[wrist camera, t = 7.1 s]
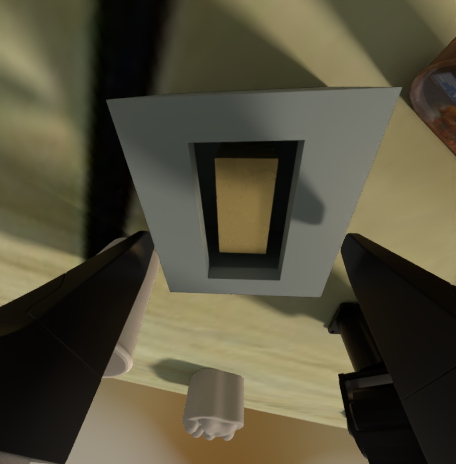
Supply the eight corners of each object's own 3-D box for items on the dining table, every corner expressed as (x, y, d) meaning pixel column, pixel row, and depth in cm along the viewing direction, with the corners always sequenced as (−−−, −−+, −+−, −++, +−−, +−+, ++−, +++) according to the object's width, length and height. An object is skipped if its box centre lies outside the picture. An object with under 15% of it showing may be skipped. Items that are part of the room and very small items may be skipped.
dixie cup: (98, 271, 24) (23, 365, 16) (92, 216, 19) (-21, 311, 11) (166, 289, 25) (129, 385, 17) (177, 241, 20) (132, 344, 12)
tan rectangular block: (260, 213, 17) (265, 253, 13) (225, 212, 17) (219, 252, 13) (268, 136, 13) (278, 158, 9) (223, 136, 13) (214, 158, 9)
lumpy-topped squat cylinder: (250, 378, 41) (251, 437, 34) (222, 393, 48) (218, 445, 41) (204, 365, 39) (195, 426, 32) (182, 383, 46) (171, 436, 39)
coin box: (297, 232, 18) (320, 297, 13) (192, 231, 19) (170, 291, 14) (328, 86, 12) (402, 87, 6) (167, 93, 13) (105, 99, 7)
